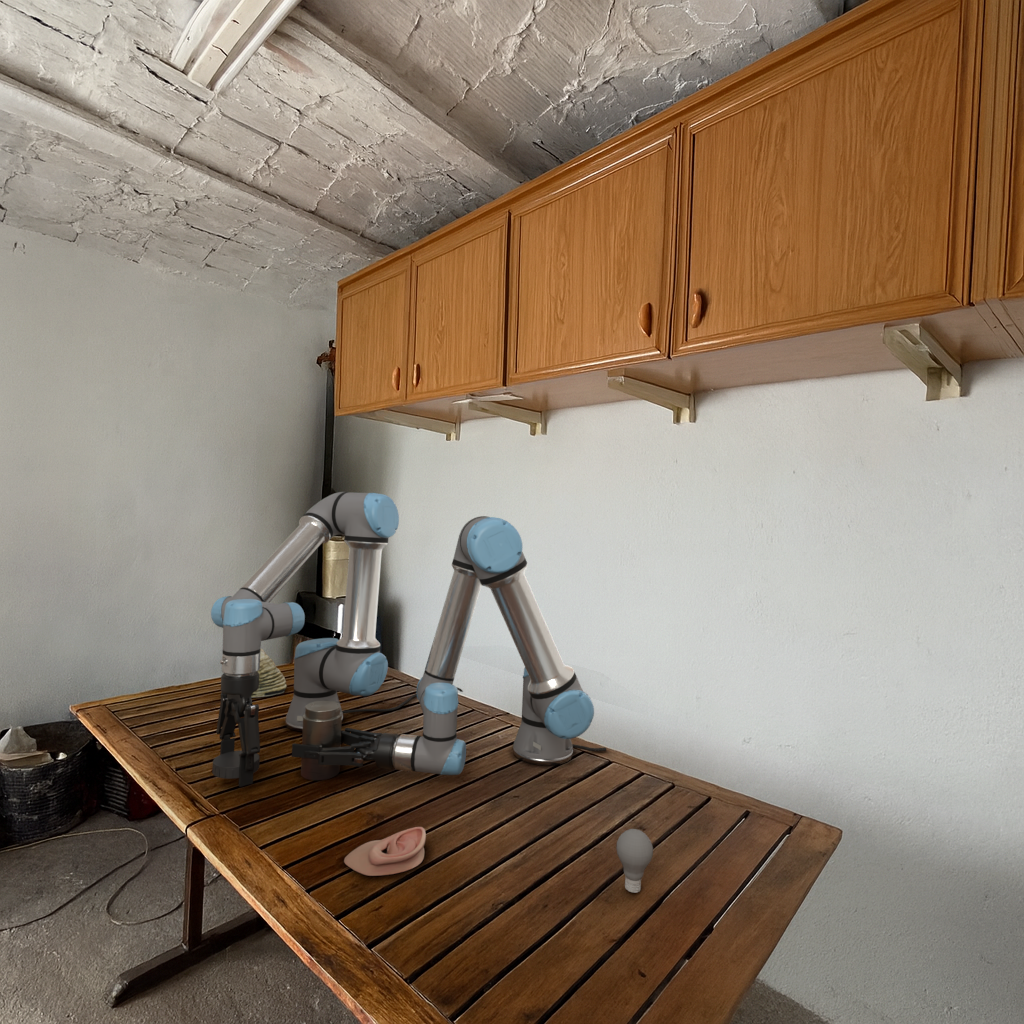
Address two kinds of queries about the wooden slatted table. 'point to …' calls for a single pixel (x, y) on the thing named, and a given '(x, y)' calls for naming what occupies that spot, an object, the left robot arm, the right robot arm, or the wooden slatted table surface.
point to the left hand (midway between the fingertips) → (235, 776)
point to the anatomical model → (389, 853)
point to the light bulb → (634, 857)
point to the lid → (230, 765)
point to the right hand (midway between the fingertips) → (302, 742)
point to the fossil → (269, 678)
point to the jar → (321, 737)
